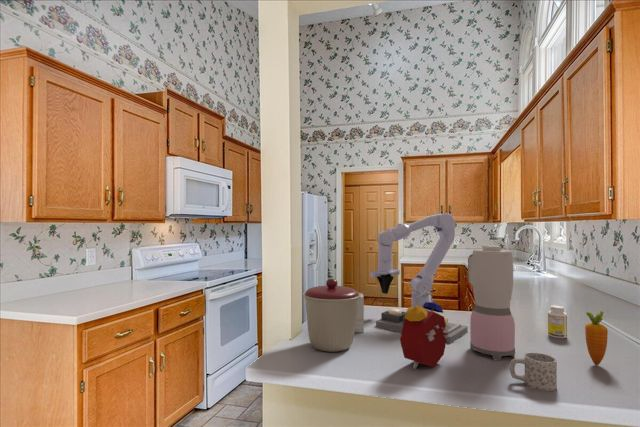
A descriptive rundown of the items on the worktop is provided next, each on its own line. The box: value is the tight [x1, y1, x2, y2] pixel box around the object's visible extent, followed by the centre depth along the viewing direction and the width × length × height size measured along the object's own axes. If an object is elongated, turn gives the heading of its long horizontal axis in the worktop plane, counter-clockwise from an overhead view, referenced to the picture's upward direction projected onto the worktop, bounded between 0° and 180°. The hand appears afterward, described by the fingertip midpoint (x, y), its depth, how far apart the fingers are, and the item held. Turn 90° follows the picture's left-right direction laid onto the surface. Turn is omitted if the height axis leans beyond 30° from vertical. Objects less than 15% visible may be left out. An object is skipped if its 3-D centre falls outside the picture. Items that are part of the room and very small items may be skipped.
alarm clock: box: [399, 291, 451, 370], centre depth 100 cm, size 15×9×20 cm, turn 133°
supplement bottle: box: [547, 305, 568, 339], centre depth 126 cm, size 6×6×10 cm
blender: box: [467, 245, 516, 361], centre depth 112 cm, size 16×12×32 cm
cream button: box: [387, 308, 403, 315], centre depth 139 cm, size 5×5×2 cm
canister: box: [302, 278, 361, 353], centre depth 114 cm, size 18×18×21 cm
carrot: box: [584, 310, 609, 367], centre depth 101 cm, size 5×5×15 cm
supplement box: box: [355, 292, 365, 334], centre depth 132 cm, size 7×7×13 cm
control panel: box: [375, 310, 469, 344], centre depth 133 cm, size 16×28×4 cm, turn 50°
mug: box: [509, 352, 558, 392], centre depth 89 cm, size 10×7×7 cm
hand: (384, 293), depth 151 cm, fingers closed
